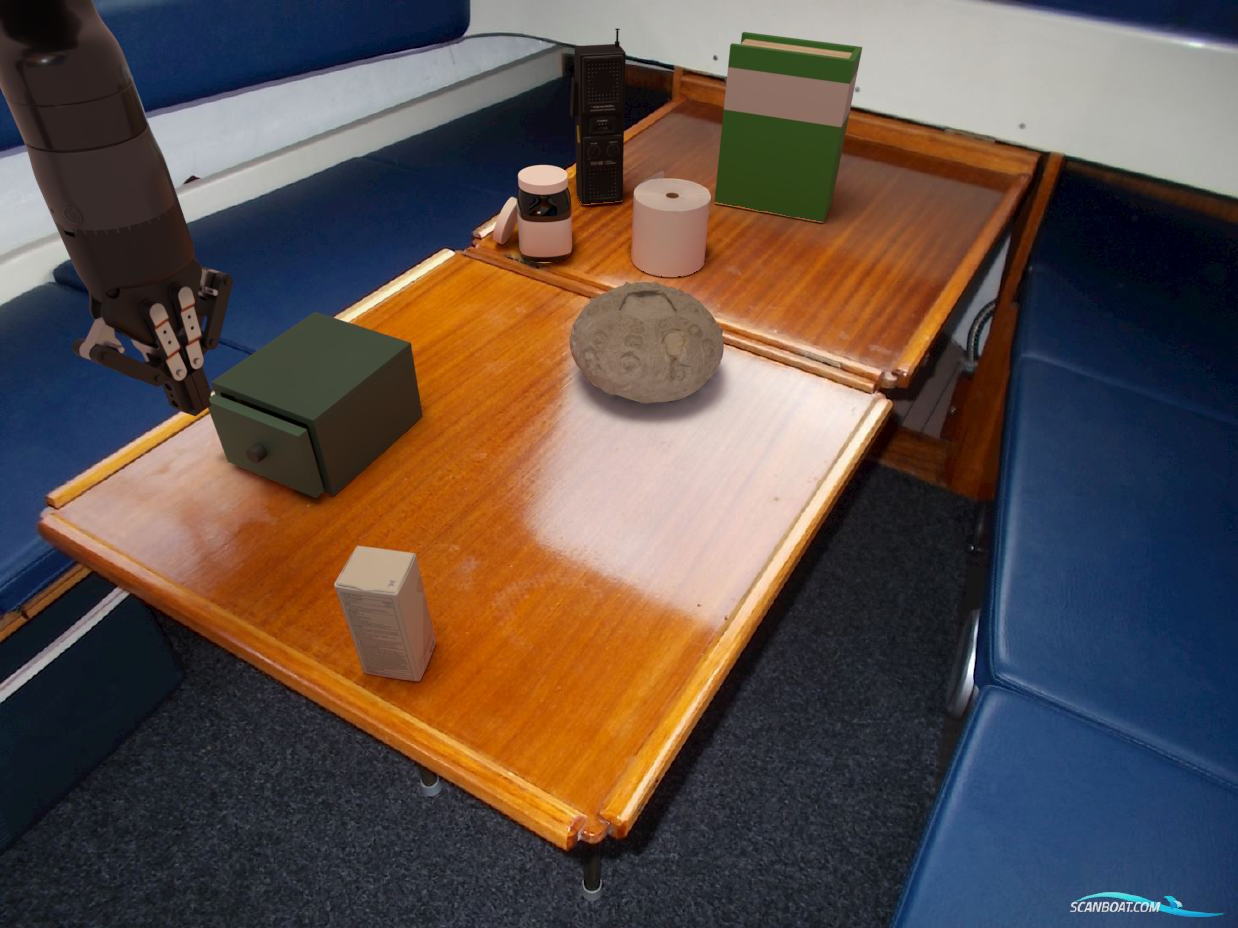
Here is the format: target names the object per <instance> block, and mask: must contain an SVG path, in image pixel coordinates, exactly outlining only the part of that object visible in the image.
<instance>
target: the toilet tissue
mask: <svg viewBox="0 0 1238 928" xmlns="http://www.w3.org/2000/svg"><path fill="white" fill-rule="evenodd" d="M664 175H665V170H664V169H663V170H661V171H658V172H655V173H654V174H652V175H650V176H649V177H646V178H645V179H643V180H642V182H640V183H639V184H637V186H636V187H635V188H634V191H633V201H632V202H633V203H632V219H631V220H632V221H631V222H632V223H631V225H632V226H631V227H632V229H631V250H630V255H631V257H630V259H631V263H632V264H633V266H634V267H635V268H637V269H638V270H640V271H641V272H643V271H644V273H646V274H648V275H651V276H656V277H661V276H662V277H663V278H679V277H678V276H681V277H685V276H689V275H692V274H695V273H697V272H699V270H701V269H702V268H703V267H704V266H705V262H704V261H705V259H706V250H707V239H708V233H709V232H708V228H709V218H710V211H711V210H710V209H711V197H712V196H711V192H710V191H709V189H708V188H707V187H705V186H703V185H702V184H700V183H697V182H695V181H692V180H687V179H682V178H672V177H671V178H664ZM696 271H697V272H696ZM694 272H695V273H694Z"/></svg>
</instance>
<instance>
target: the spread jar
mask: <svg viewBox="0 0 1238 928" xmlns="http://www.w3.org/2000/svg"><path fill="white" fill-rule="evenodd" d="M517 180H518V181H517V182H518V189H517V191H516V197H514V196H511V197H509V198H508V200H507V201H506V202H505V204H504V205H503V207H502V208H501V211H500V212H499V215H498V217H497V219H496V221H495V225H494V228H493V233H492V240H493V242H496V243H498V244H500V245H502V244H503V245H505V244H504V242H505V241H506V240H507V239H508V238H509V239H510V238H511V236H512V234H513V232H514V231H515V229H516V226H517V238H518V248H519V252H520V255H521V256H522V257H523V259H525V260H526V261H529V262H532V261H533V262H532V263H535V262H555V263H557V262H556V261H559V262H561V261H560V260H562V261H563V259H564V260H565V259H567V258H569V257H570V256H571V254H572V251H573V250H572V249H573V224H572V223H573V218H572V217H573V207H572V198H571V192H570V189H569V187H568V186H569V174H568V171H566V170H564V169H563V168H562V167H559V166H556V165H551V164H550V165H549V164H538V165H531V166H528V167H525V168H523V169H521V170H520V171H519V172H518V174H517ZM510 235H511V236H510ZM509 239H508V240H509ZM508 240H507V241H508Z"/></svg>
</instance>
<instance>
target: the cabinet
mask: <svg viewBox="0 0 1238 928" xmlns="http://www.w3.org/2000/svg"><path fill="white" fill-rule="evenodd" d="M412 347H413V346H412V343H411V341H408V340H404V339H401V338H399V337H395V336H392V335H388V334H386V333H383V332H380V331H376V330H374V329H371V328H368V327H364V326H360V325H358V324H354V323H352V322H348V321H346V320H342V319H339V318H336V317H333V316H330V315H326V314H323V313H321V312H318V311H314V312H312V313H310V314H309V315H308V316H306V317H305V318H303V319H302V320H301V321H299V322H297V323H296V324H294V325H293V326H291V327H290V328H289V329H287V330H286V331H284V332H283V333H281V334H280V335H278V336H277V337H275V338H274V339H272V340H270V341H269V342H268V343H266V344H265V345H263V346H262V347H260V348H259V349H257V350H256V351H254V352H253V353H251V354H250V355H248V356H247V357H245V358H244V359H242V360H241V361H239V362H238V363H237V364H234V366H232V367H231V368H229V369H228V370H226V371H225V372H223V373H222V374H220V375H218V377H216V378H215V379H213V380H212V381H210V384H211V386H212V389H213V392H214V394H216V395H218V396H221V397H223V398H226V399H229V400H231V401H234V402H236V400H235V397H236V398H238V399H241V400H244V401H246V402H249V403H251V404H254V405H257V406H259V407H262V408H265V409H267V410H270V411H273V412H275V413H278V414H280V415H283V416H286V417H288V418H291V419H294V420H296V421H299V422H301V423H304V424H307V425H308V427H309V430H310V434H311V437H312V441H313V445H314V448H315V452H316V456H317V459H318V463H319V466H320V470H321V474H322V475H320V478H321V481H322V485H323V489H324V492H323V493H324V494H326V495H329V496H331V497H333V498H334V497H336V496H337V495H339V493H340V492H341V491H342V490H343V489H345V488H346V487H348V485H349V484H351V482H353V480H355V479H356V478H357V477H358V476H359V475H360V474H361V473H362V472H363V471H364V470H366V469H367V468H368V467H369V466H370V465H371V464H372V463H373V462H374V461H375V460H376V459H378V458H379V457H380V456H381V455H382V454H383V453H384V452H386V450H388V449H389V448H390V447H391V446H392V445H393V444H394V443H395V442H396V441H398V439H400V438H401V437H402V436H403V435H404V434H405V433H406V432H408V430H410V429H411V427H413V426H414V425H415V424H416V423H417V422H418V421H420V420H421V418H423V416H424V415H423V409H422V404H421V397H420V390H419V385H418V384H419V383H418V377H417V372H416V367H415V366H416V365H415V359H414V353H413V348H412ZM323 493H322V494H323Z"/></svg>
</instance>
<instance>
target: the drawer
mask: <svg viewBox="0 0 1238 928" xmlns="http://www.w3.org/2000/svg"><path fill="white" fill-rule="evenodd" d="M209 400H210V403H211V406H209V407H208V408H207V409H208V412H209V414H210V417H211V420H212V423H213V426H214V428H215V431H216V434H217V436H218V439H219V442H220V445H221V447H222V450H223V453H224V455H225V459H226V461H227V463H229V464H232V465H235V466H237V467H239V468H242V469H244V470H246V471H249V472H251V473H254V474H256V475H259V476H260V477H264V478H266V479H268V480H271V481H273V482H275V483H278V484H280V485H283V486H285V487H287V488H290V489H292V490H295V491H297V492H299V493H302V494H305V495H307V496H309V497H312V498H314V499H317V498H318V497H319V496H321V494H323V492H324V489H323V485H322V481H321V478H320V475H322V474H321V470H320V466H319V463H318V459H317V456H316V452H315V448H314V445H313V441H312V437H311V434H310V430H309V427H308V425H307V424H304V423H301V422H299V421H296V420H294V419H291V418H288V417H286V416H283V415H280V414H278V413H275V412H273V411H270V410H267V409H265V408H262V407H259V406H257V405H254V404H251V403H249V402H246V401H244V400H241V399H238V398H236V397H235V400H236V402H234V401H231V400H229V399H226V398H223V397H221V396H218V395H216V394H215V393H214V394H213V395H212V394H211V397H210V398H209Z"/></svg>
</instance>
